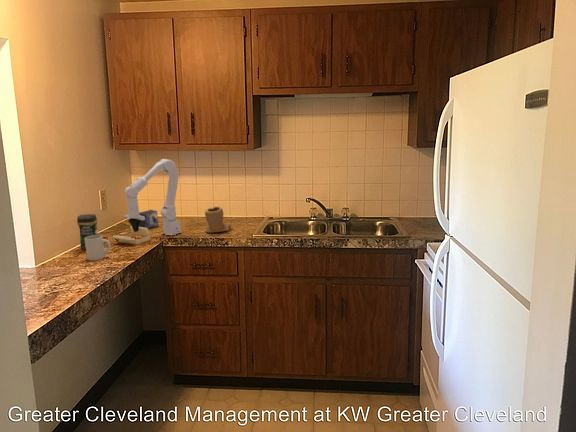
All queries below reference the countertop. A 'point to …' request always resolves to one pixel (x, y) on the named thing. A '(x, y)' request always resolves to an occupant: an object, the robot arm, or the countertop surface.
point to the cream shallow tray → (136, 241)
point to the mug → (96, 247)
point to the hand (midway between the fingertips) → (136, 231)
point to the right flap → (141, 230)
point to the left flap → (124, 237)
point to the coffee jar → (87, 227)
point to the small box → (149, 219)
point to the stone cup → (216, 220)
